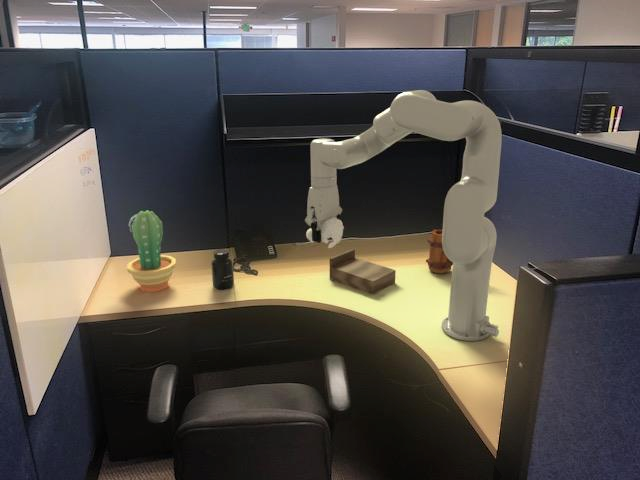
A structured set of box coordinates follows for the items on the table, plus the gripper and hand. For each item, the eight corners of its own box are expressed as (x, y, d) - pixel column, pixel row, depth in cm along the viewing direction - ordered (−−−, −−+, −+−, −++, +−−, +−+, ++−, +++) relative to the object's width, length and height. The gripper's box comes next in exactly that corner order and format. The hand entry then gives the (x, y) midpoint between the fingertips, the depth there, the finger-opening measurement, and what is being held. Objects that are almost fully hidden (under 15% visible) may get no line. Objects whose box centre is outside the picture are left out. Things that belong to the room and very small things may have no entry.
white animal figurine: (336, 221, 150) (300, 220, 156) (338, 249, 153) (303, 247, 158) (344, 215, 156) (309, 215, 161) (347, 242, 158) (312, 241, 164)
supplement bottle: (229, 291, 163) (226, 256, 159) (209, 289, 165) (206, 254, 161) (237, 282, 170) (235, 248, 166) (218, 281, 171) (215, 247, 167)
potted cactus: (172, 273, 178) (164, 203, 169) (184, 289, 165) (176, 214, 157) (125, 282, 171) (115, 209, 162) (134, 300, 158) (123, 222, 150)
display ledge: (395, 282, 168) (396, 261, 166) (372, 294, 160) (373, 272, 158) (352, 268, 180) (352, 248, 178) (329, 279, 172) (329, 258, 169)
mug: (422, 272, 176) (424, 231, 171) (428, 264, 183) (431, 224, 178) (465, 280, 170) (469, 237, 165) (470, 271, 177) (474, 230, 172)
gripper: (333, 175, 161) (333, 229, 167) (294, 184, 149) (295, 243, 155) (352, 178, 156) (351, 234, 162) (313, 188, 144) (314, 248, 150)
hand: (324, 238), depth 158 cm, fingers closed on white animal figurine, 6 cm apart
